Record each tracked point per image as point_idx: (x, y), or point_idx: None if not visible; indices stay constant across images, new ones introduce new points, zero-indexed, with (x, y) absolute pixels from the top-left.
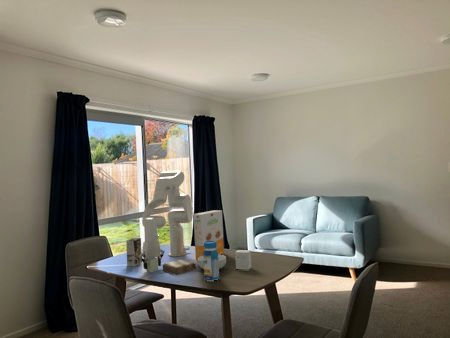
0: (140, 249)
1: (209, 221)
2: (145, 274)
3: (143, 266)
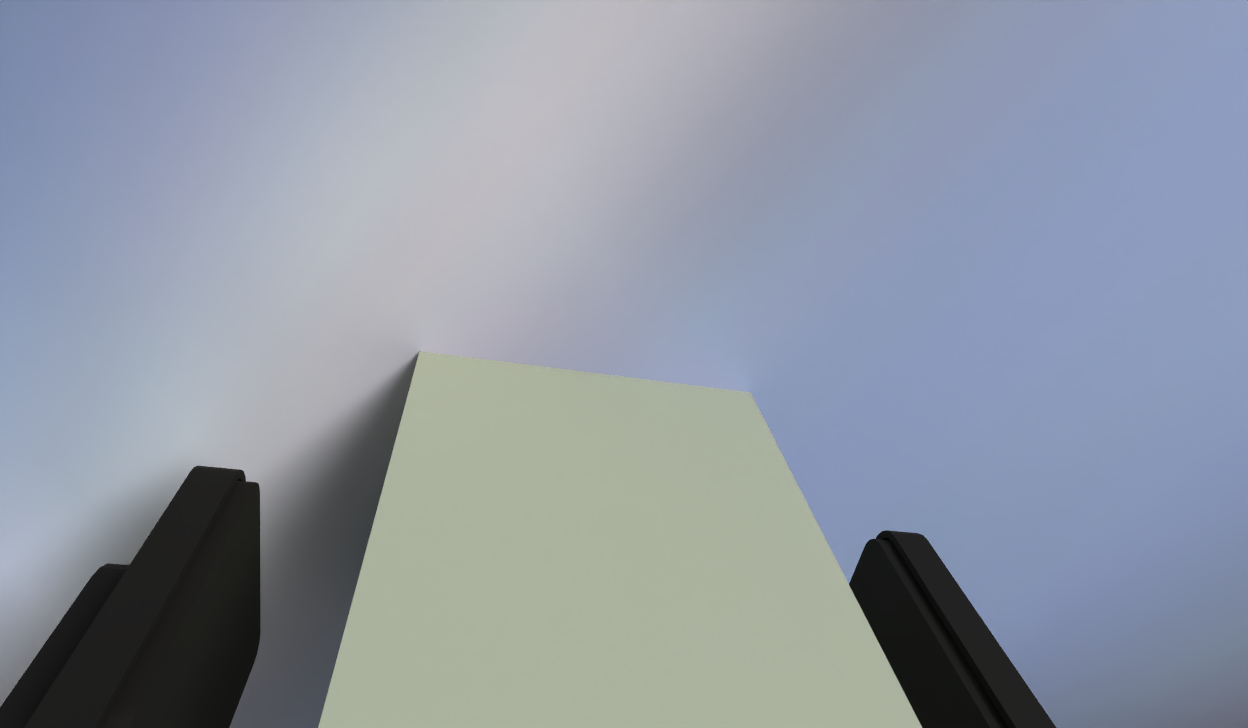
0: None
1: None
2: None
3: (81, 599)
